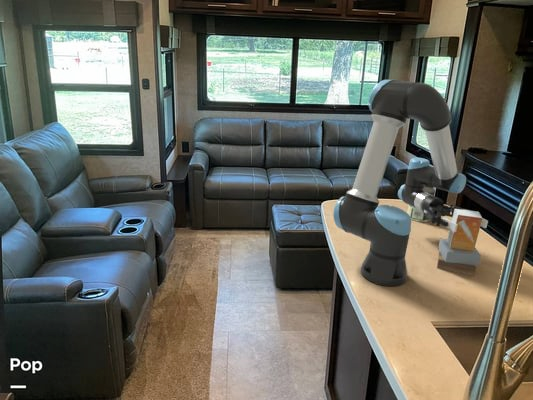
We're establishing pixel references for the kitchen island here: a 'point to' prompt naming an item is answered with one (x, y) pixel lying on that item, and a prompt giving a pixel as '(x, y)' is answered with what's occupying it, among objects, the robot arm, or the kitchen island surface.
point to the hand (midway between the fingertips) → (471, 226)
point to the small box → (465, 229)
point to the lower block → (455, 266)
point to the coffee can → (416, 213)
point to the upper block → (458, 254)
